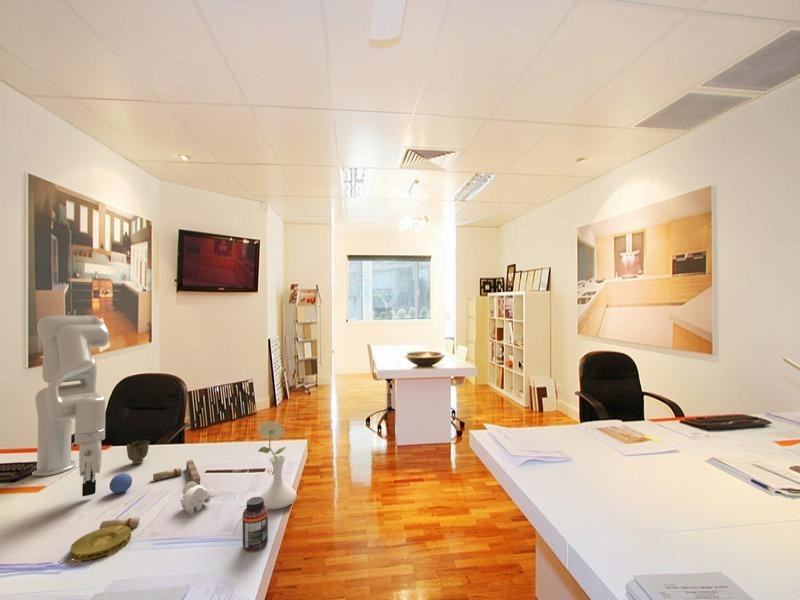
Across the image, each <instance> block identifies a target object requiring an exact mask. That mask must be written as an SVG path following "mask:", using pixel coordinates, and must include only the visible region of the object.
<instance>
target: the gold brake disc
mask: <svg viewBox="0 0 800 600" xmlns="http://www.w3.org/2000/svg"><path fill="white" fill-rule="evenodd" d="M131 538H132V528H129V527H127V526H111V527H106V528H102V529H100V528H99V529H96V530H93V531H91V532H89V533H86V534H85V535H83V536H81V537H79V538H78V539H77V540H76V541H74V542H73V543H72V544H71V546H70V552H69V553H70V554H69V555H71V556H70V559H71V558H72V559H74V560H76V561H75V562H77V561H82V560H83V561H86V560H89V561H90V560H93V559H97V558H98V559H99V558H102V557H103V556H106V557H108V556H111V555H113V554H115V553H117V552H119V551H121V550H122V549H123V548H125V545H126V544H128V543H129V542H130V540H131ZM72 559H71V560H72ZM83 561H82V562H83Z"/></svg>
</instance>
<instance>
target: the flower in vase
mask: <svg viewBox="0 0 800 600" xmlns="http://www.w3.org/2000/svg"><path fill="white" fill-rule="evenodd" d="M283 427H284V425H281V423H280V422H279V423H277V422H276V420H274V421H271V420H268V421H267V420H266V421H264V422H263V423H261V424H259V426H258V429H257V431H258V432H259V434H260V435H261V437H263V438H264V439H266V440H267V439H268V440H269V441H268V447H266V446H261V447H260V448H259V450H257V452H258V453H259V452H260V453H264V454H269V453H270V452H271V453H272V455H273V456H271V457H269V459H268V460H269V462H270V463H271V465H272V468H273V481H272V483H271V485H270V486H268V487H267V488H266V489H265V490H264V491H263V492H262V493H261V494H260V496H259V497H262V498H263V499H264V505H265V506H266V507H267V509H268V510H278V509H283V508H286V507H288V506H290V505H291V504H293V503H294V502H295V501H296V500H297V497H298V494H297V492H296V490H295V489H294V488H293V487H291V486H290V485H288V484H286V483H284V481H283V477H282V473H283V472H282V471H283V466H284V462H285V461H286V460H287V456H286V455H282V454H281V453H282V452H283V451H284V450H285V449H286V448H287V445H285V446H283V447H281V448H278V449H277V450H276V451H275V452H274V451H273V450H272V448H271V441H272V440H273V441H275V440H279V439H280V438H283V437H284V435H285V433H286V431H285V428H283ZM279 454H281V455H279Z"/></svg>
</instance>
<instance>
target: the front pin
mask: <svg viewBox="0 0 800 600" xmlns="http://www.w3.org/2000/svg"><path fill="white" fill-rule="evenodd" d="M139 525H140V517H138V516H137V517H129V518H121V519H109V520H102V521H101V522H100V525H99V529H102V528H106V527H111V526H127V527H129V528H130V529H134V528H138V526H139Z"/></svg>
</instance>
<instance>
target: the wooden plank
mask: <svg viewBox="0 0 800 600" xmlns="http://www.w3.org/2000/svg"><path fill="white" fill-rule="evenodd" d="M194 462H195V461H194V460H193V459H190V460H186V467H185V468H186V471H187V475H188V477H189V480H190V481H194V482H196V483H197V484H198V485H201V476H200V474H199V472H198V469H197V467H196V464H195V463H194Z"/></svg>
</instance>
